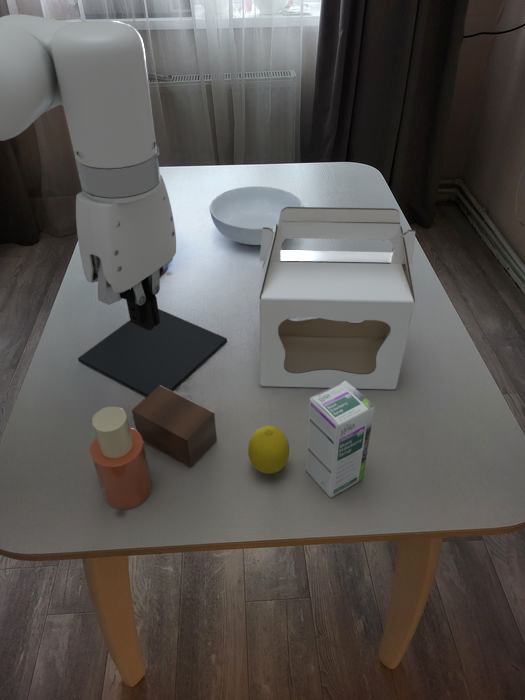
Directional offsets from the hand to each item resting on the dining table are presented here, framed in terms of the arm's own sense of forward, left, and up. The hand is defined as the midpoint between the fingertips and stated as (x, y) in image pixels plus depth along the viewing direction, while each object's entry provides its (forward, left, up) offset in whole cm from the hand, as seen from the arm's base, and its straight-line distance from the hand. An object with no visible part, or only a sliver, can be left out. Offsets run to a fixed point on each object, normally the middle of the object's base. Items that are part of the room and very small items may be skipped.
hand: (145, 323), depth 65 cm
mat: (-16, +15, -23) cm, 32 cm away
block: (0, +2, -23) cm, 23 cm away
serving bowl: (-24, +59, -23) cm, 68 cm away
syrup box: (+22, +9, -23) cm, 33 cm away
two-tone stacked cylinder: (0, -5, -23) cm, 23 cm away
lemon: (+14, +5, -23) cm, 28 cm away
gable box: (+10, +29, -23) cm, 38 cm away
